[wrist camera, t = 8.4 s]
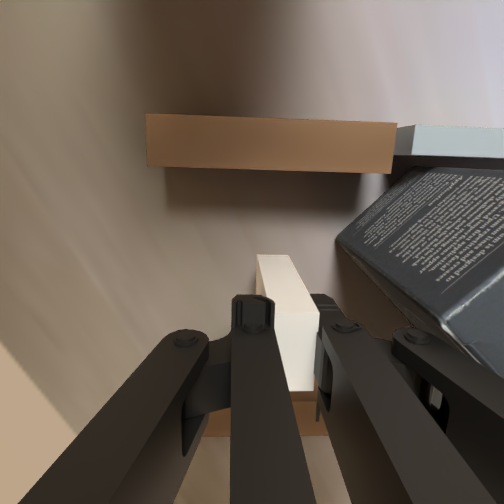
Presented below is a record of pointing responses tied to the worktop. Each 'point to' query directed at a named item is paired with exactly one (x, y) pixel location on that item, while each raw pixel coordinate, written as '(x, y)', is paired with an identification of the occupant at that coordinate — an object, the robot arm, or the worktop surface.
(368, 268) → the box
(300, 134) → the brown bar
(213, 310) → the worktop surface
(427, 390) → the robot arm
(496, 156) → the bay
